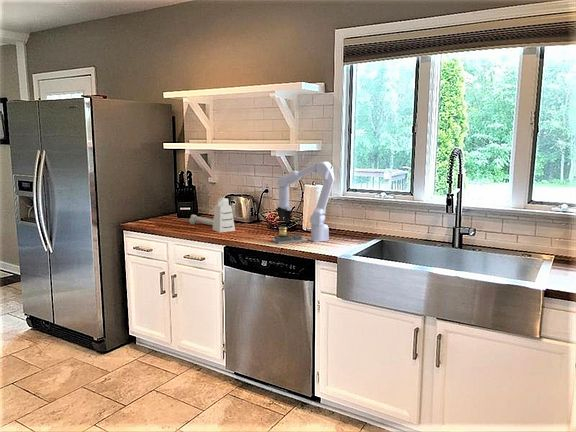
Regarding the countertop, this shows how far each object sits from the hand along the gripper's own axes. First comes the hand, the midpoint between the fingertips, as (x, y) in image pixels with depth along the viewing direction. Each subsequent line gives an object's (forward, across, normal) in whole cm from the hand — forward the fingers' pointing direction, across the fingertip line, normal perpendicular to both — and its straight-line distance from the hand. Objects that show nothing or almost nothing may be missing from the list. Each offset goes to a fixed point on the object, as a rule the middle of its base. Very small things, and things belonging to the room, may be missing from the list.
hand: (283, 221), depth 275 cm
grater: (+10, -36, -25) cm, 45 cm away
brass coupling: (+8, +10, -5) cm, 14 cm away
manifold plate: (+9, +10, -1) cm, 14 cm away
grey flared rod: (+10, -59, -31) cm, 68 cm away
